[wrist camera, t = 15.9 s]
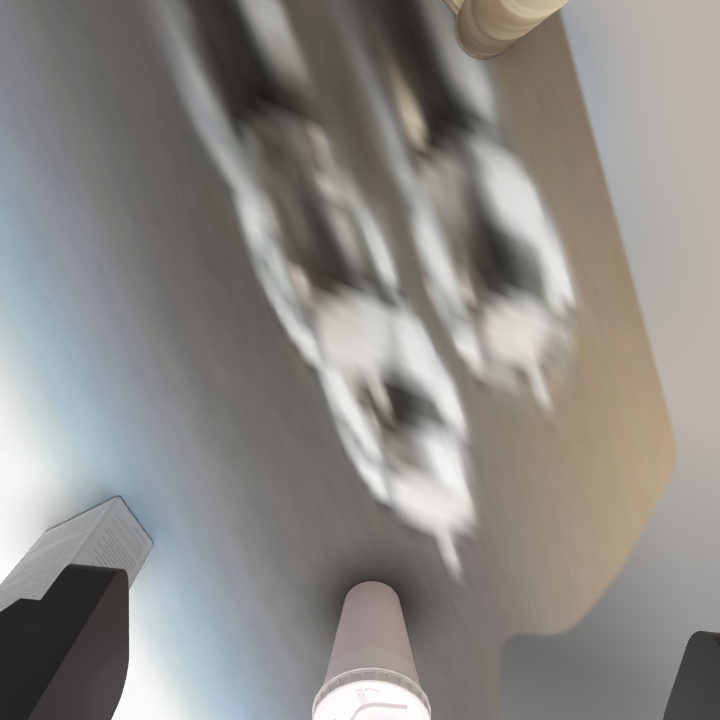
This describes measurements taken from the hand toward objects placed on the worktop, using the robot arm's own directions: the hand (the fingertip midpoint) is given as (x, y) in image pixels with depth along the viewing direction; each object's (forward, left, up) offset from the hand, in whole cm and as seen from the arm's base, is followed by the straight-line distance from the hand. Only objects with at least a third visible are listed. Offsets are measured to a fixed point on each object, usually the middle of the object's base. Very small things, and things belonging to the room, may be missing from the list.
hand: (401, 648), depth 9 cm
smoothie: (+2, -22, -28) cm, 36 cm away
